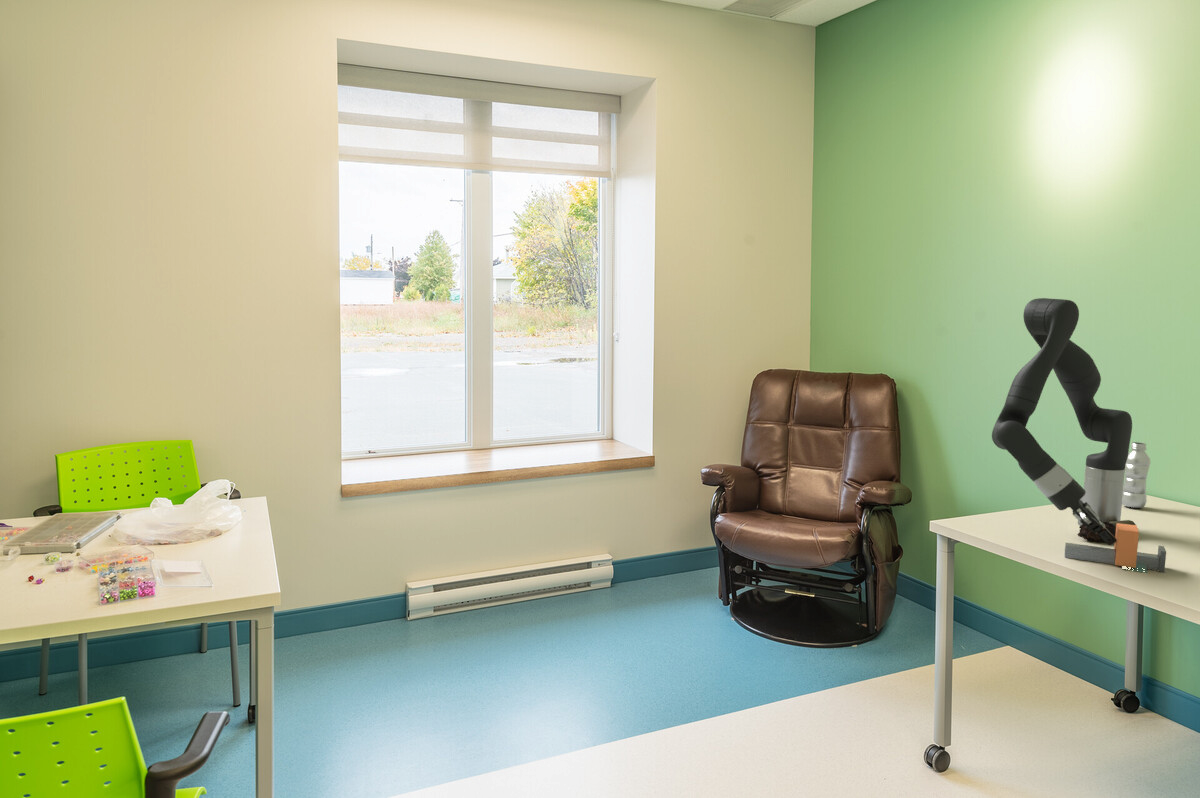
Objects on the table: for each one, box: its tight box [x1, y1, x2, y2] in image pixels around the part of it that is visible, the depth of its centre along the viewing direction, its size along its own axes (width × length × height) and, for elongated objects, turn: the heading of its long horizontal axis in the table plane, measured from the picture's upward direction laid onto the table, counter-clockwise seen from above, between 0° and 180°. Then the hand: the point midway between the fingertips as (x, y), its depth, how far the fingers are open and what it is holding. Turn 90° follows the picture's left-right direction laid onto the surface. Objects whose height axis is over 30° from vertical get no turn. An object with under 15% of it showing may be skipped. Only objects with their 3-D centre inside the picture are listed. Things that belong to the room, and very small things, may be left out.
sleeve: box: [1113, 523, 1140, 568], centre depth 193 cm, size 4×7×9 cm, turn 151°
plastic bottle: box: [1122, 441, 1151, 509], centre depth 248 cm, size 6×7×20 cm
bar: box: [1064, 542, 1167, 574], centre depth 194 cm, size 20×10×5 cm, turn 61°
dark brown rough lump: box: [1077, 519, 1137, 544], centre depth 214 cm, size 18×7×6 cm, turn 112°
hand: (1113, 542), depth 194 cm, fingers closed
